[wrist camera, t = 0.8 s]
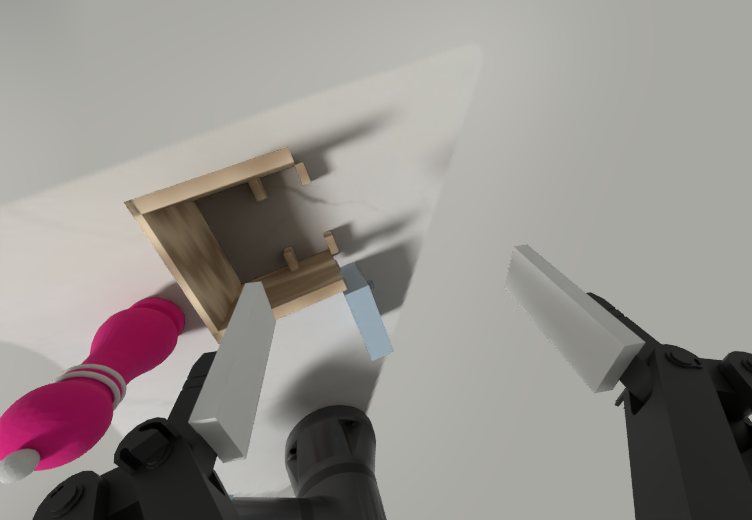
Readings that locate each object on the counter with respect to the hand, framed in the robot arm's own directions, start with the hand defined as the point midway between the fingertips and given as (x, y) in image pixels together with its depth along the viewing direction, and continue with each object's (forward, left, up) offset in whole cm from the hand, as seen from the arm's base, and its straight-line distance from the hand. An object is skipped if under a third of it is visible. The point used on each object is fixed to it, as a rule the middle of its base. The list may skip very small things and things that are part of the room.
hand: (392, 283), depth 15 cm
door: (-12, +1, -25) cm, 28 cm away
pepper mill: (-4, +26, -25) cm, 36 cm away
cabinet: (+2, +9, -25) cm, 26 cm away
